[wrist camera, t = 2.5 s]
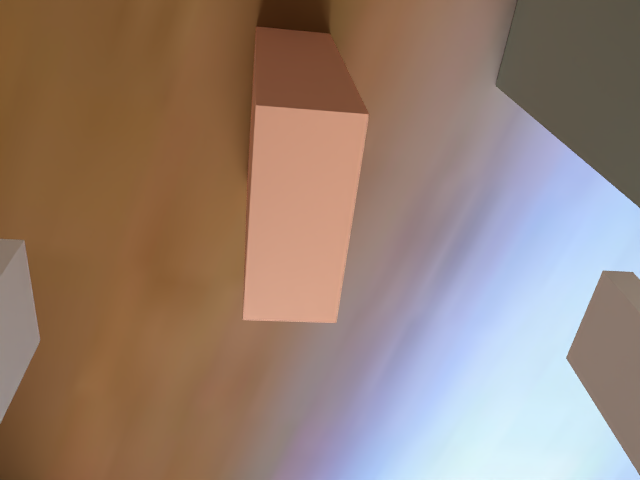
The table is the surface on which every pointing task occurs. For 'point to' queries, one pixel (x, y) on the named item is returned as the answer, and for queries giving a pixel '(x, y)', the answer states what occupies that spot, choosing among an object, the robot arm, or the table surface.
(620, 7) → the pale green white box
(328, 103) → the pink rectangular block
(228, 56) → the table surface
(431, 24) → the table surface
